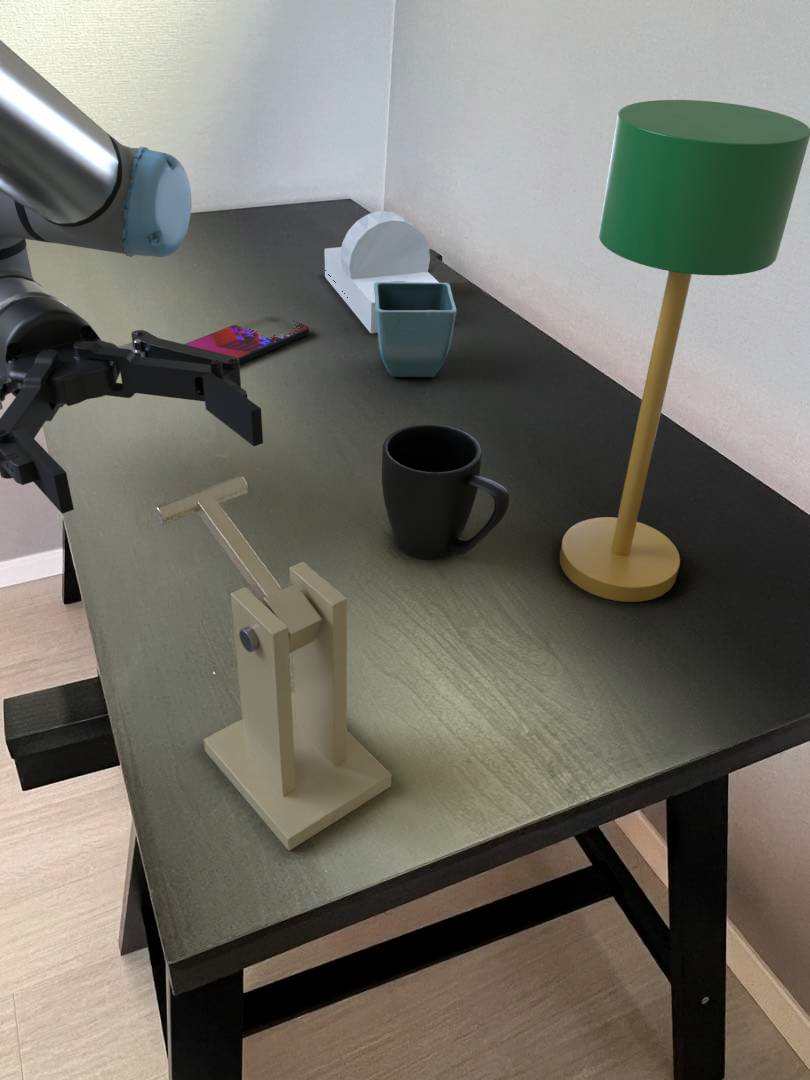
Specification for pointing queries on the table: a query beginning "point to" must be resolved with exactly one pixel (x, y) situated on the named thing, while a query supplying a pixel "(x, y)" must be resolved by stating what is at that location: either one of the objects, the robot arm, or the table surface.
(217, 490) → the switch
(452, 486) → the mug
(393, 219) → the tape dispenser
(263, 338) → the smartphone
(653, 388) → the lamp
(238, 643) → the beige wooden upright stand
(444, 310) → the flower pot
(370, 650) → the table surface
